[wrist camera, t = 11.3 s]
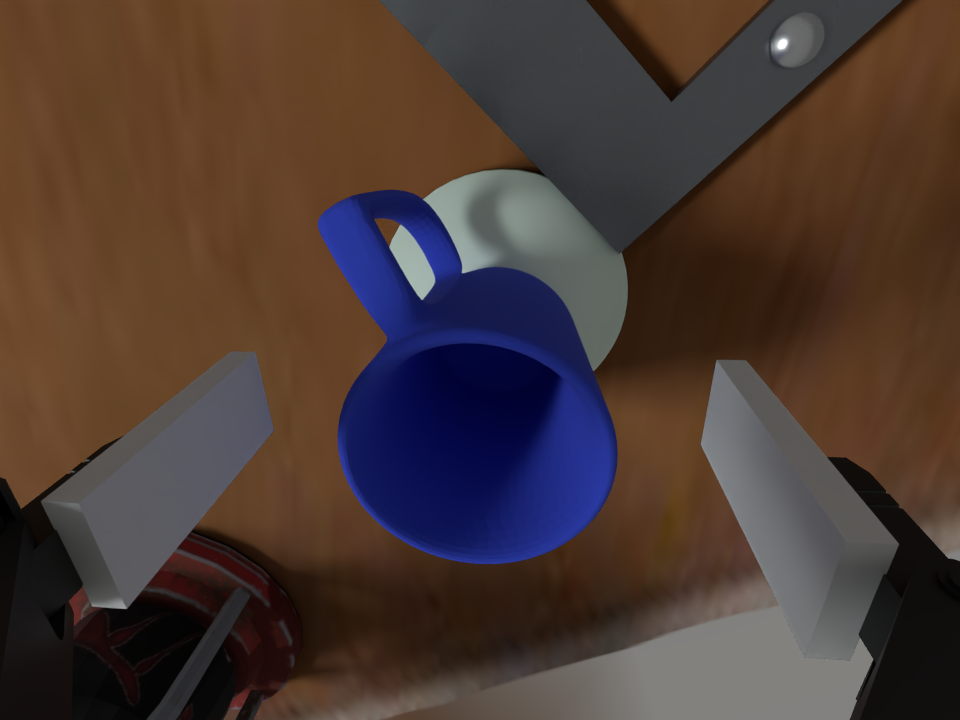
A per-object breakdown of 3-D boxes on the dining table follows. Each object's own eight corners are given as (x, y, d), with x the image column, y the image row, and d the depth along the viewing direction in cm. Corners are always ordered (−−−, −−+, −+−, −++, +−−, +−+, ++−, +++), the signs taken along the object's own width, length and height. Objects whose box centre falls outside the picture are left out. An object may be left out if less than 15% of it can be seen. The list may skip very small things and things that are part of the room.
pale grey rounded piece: (341, 293, 25) (335, 298, 24) (501, 107, 21) (500, 107, 20) (504, 436, 27) (503, 444, 27) (677, 295, 23) (681, 301, 23)
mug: (498, 119, 20) (464, 123, 11) (617, 370, 24) (661, 521, 15) (330, 217, 23) (192, 285, 14) (464, 432, 27) (425, 594, 18)
